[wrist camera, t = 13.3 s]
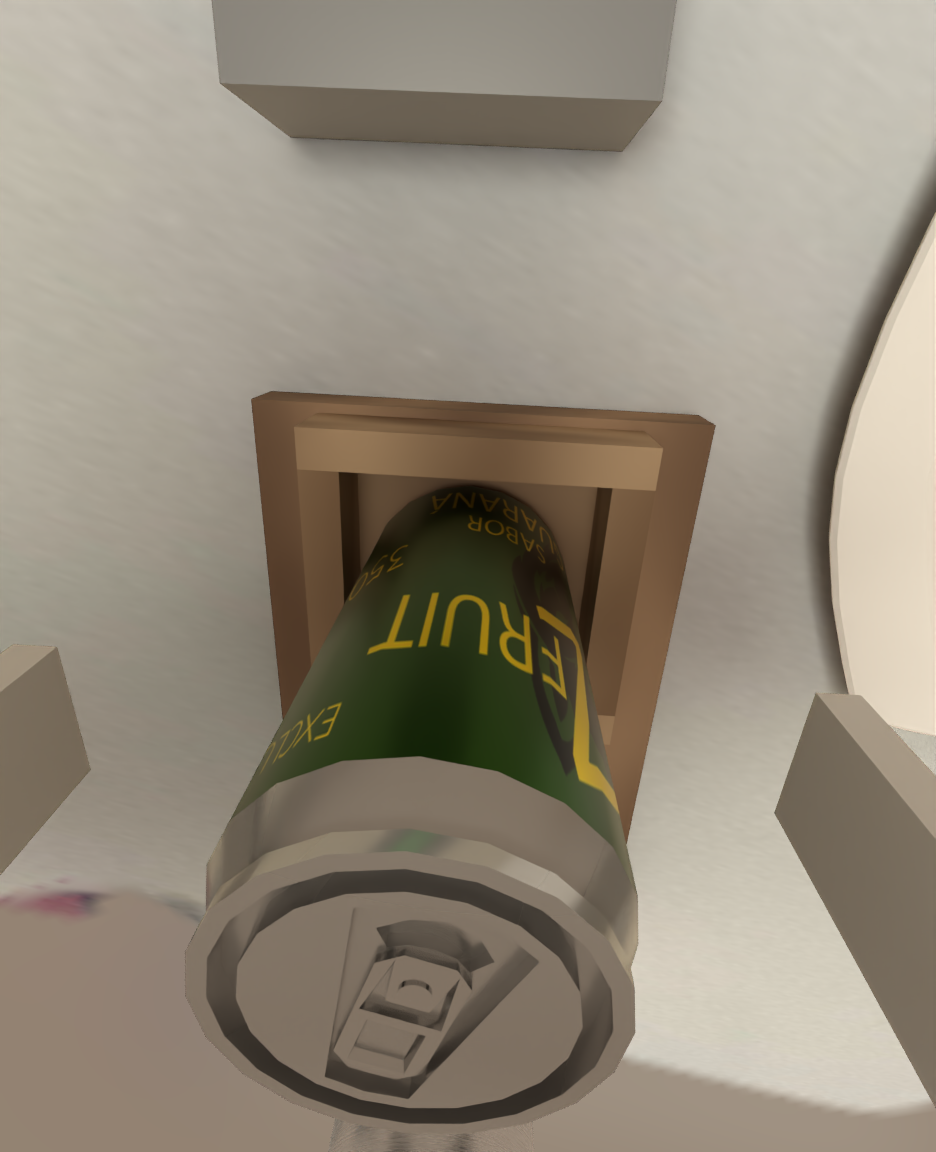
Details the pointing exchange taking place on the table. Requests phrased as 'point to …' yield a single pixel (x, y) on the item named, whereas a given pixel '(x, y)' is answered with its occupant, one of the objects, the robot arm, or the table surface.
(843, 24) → the table surface
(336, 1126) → the cylinder
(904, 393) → the plate
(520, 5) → the grey square socket block
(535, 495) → the wooden tray
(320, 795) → the green drink can
